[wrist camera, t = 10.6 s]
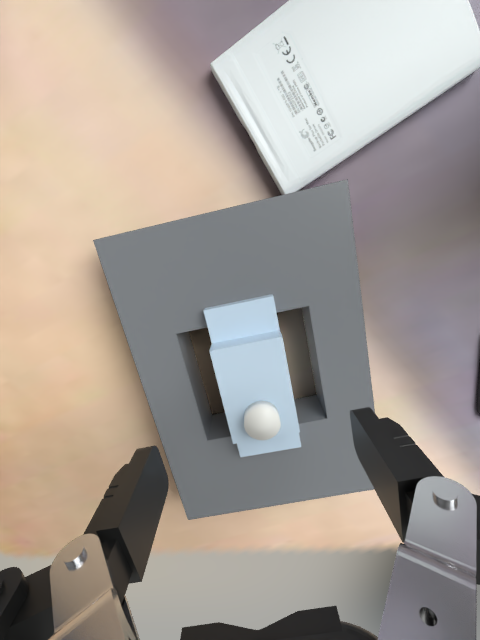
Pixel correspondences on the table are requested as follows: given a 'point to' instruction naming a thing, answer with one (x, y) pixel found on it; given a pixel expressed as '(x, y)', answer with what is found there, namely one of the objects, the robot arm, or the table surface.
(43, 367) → the table surface
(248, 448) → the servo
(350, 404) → the frame
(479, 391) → the smartphone
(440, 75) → the external hard drive
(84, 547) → the robot arm
